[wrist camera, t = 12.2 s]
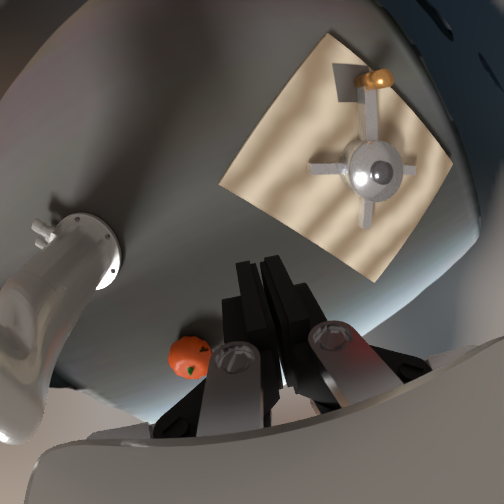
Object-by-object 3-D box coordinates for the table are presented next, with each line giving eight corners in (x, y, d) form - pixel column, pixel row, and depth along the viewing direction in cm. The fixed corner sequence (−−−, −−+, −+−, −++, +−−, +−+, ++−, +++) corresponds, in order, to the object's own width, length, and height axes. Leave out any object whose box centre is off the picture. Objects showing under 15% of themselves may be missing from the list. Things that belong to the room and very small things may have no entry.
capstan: (405, 221, 38) (428, 235, 33) (307, 229, 37) (323, 247, 31) (408, 85, 29) (434, 82, 24) (302, 69, 28) (318, 57, 22)
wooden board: (218, 181, 35) (218, 184, 33) (322, 37, 28) (328, 32, 26) (369, 277, 45) (374, 283, 43) (445, 161, 37) (453, 164, 35)
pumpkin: (182, 363, 48) (180, 393, 41) (163, 334, 44) (157, 364, 38) (219, 354, 48) (221, 384, 41) (202, 323, 44) (202, 354, 38)
